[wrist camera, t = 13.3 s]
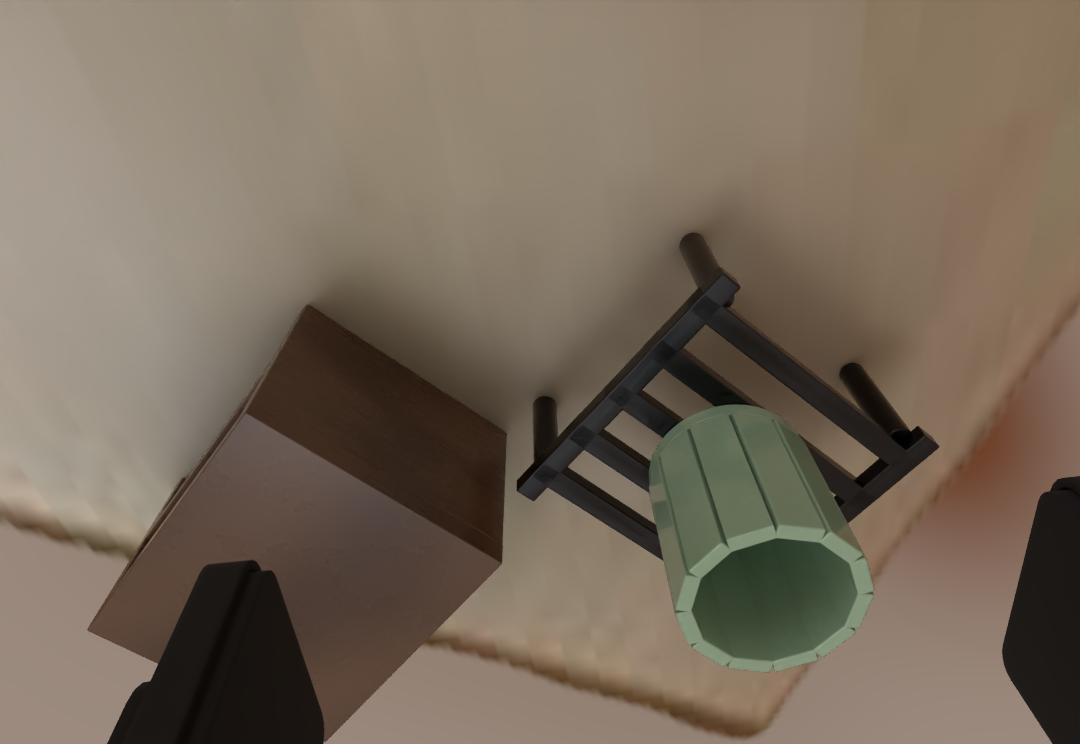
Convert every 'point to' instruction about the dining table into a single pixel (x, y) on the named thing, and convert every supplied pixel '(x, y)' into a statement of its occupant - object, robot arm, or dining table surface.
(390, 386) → the shelf
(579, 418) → the rack
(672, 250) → the dining table surface
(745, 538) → the cup
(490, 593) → the dining table surface
